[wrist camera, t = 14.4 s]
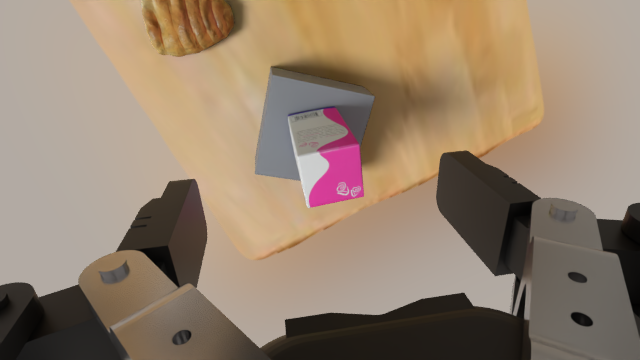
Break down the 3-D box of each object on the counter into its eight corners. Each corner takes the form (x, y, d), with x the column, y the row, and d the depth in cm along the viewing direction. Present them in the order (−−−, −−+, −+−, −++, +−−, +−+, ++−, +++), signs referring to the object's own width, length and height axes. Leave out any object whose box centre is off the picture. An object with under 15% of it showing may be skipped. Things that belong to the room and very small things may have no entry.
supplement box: (295, 160, 44) (305, 210, 34) (286, 113, 42) (294, 153, 32) (342, 151, 45) (365, 198, 35) (336, 104, 42) (360, 140, 32)
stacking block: (270, 66, 45) (272, 74, 40) (362, 85, 48) (375, 96, 43) (255, 155, 50) (255, 174, 44) (339, 168, 53) (348, 187, 47)
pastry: (226, -19, 40) (223, -20, 37) (240, 45, 44) (239, 50, 40) (140, -6, 40) (128, -7, 36) (160, 58, 43) (152, 63, 39)
